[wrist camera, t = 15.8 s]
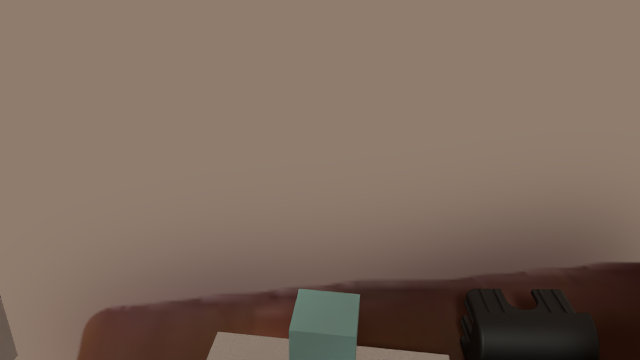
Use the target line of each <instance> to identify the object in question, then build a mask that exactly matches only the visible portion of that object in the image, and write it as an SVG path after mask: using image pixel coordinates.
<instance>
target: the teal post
mask: <svg viewBox="0 0 640 360" xmlns="http://www.w3.org/2000/svg"><path fill="white" fill-rule="evenodd" d="M359 302H360V294H350V293H339V292H329V291H318V290H307V289H299V291H298V296H297V300H296V304H295V308H294V312H293V316H292V320H291V324H290V328H289V360H356V347H357V332H358V317H359Z"/></svg>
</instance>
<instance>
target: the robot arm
mask: <svg viewBox="0 0 640 360" xmlns="http://www.w3.org/2000/svg"><path fill="white" fill-rule="evenodd" d="M17 356H18V355H17V351H16V348H15V344H14V341H13V337H12V334H11V331H10V327H9V324H8V320H7V317H6V314H5V310H4V307H3V304H2V300H1V296H0V360H14V359H15V358H16V357H17Z"/></svg>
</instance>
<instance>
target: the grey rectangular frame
mask: <svg viewBox="0 0 640 360" xmlns="http://www.w3.org/2000/svg"><path fill="white" fill-rule="evenodd" d="M207 360H289V339H284V338H274V337H264V336H254V335H245V334H235V333H225V332H218V333H217V335H216V338H215V340H214V343H213V345H212V348H211V350H210V353H209V355H208V357H207ZM356 360H449V355H442V354H432V353H422V352H412V351H402V350H393V349H383V348H373V347H363V346H357V347H356Z"/></svg>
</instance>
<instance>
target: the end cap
mask: <svg viewBox="0 0 640 360" xmlns="http://www.w3.org/2000/svg"><path fill="white" fill-rule="evenodd" d="M531 294H532V296H533V298H534V300H535V301H536V303H537V307H536V308H534V309H531V310H523V309H518V308H516V307H513V306H512V305H510V304H509V303H508V302H507V301H506V299H505V297H504V295H503V293H502V291H501V289H472V290H470V291H468V292H467V295H466V299H465V300H464V304H465V307H466V309H467V312H468V314H469V317H470V320H471V322H472V326H471V324H470V321H469V319H468V316H467V315H463V318H462V319H461V326H462V329H463V332H464V335H463V336H462V337H461V340H460V344H461V347H462V350H463V353H464V356H465V359H466V360H599V338H598V333H597V329H596V326H595V323H594V321H593V319H592V317H591V315H590V314H589V313H576V312H575V310H574V309H573V307H572V305H571V304H570V302H569V301H568V299H567V298H566V296H565V295H564V293H563V292H562V291H561V290H555V289H532V291H531Z"/></svg>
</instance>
